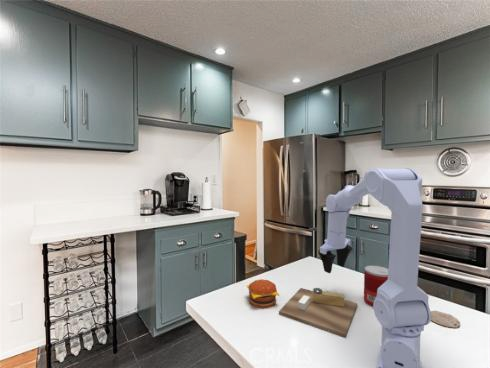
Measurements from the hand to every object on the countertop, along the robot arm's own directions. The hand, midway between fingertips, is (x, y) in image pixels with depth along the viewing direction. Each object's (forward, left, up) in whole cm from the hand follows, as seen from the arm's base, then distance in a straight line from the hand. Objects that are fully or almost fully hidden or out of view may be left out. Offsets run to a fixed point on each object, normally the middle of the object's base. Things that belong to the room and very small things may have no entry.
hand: (334, 268), depth 84 cm
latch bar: (-7, 0, -9) cm, 11 cm away
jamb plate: (-11, +2, -10) cm, 15 cm away
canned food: (+4, -13, -10) cm, 17 cm away
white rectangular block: (-13, +6, -9) cm, 16 cm away
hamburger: (-16, +19, -10) cm, 27 cm away
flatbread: (+4, -30, -10) cm, 32 cm away
